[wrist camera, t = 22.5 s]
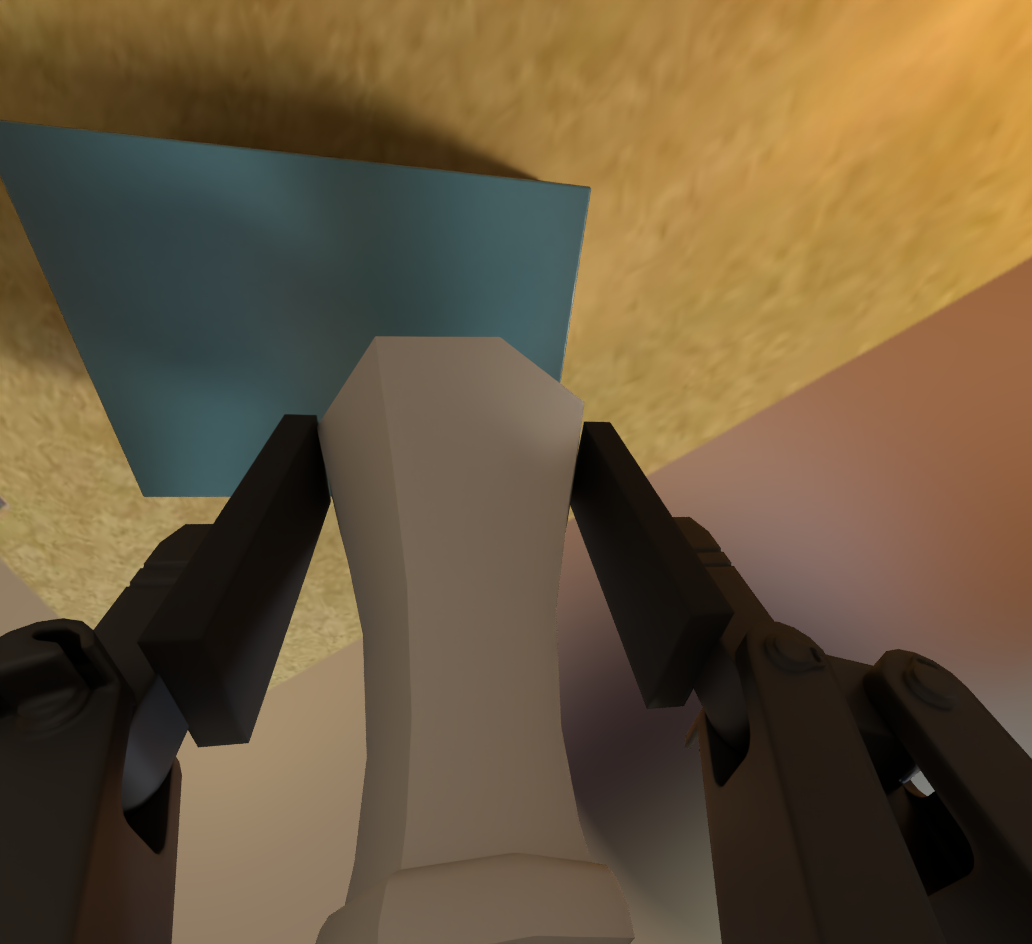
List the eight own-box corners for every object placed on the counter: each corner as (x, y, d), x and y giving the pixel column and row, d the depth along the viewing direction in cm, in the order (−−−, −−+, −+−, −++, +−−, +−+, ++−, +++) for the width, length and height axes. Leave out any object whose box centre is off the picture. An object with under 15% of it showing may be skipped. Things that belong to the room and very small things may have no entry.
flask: (625, 377, 12) (1020, 834, 4) (526, 566, 15) (617, 1016, 7) (342, 279, 10) (-187, 864, 2) (301, 525, 13) (70, 1103, 5)
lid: (151, 488, 21) (142, 497, 20) (-8, 118, 13) (-29, 116, 13) (540, 488, 23) (542, 496, 23) (586, 186, 16) (591, 187, 16)
